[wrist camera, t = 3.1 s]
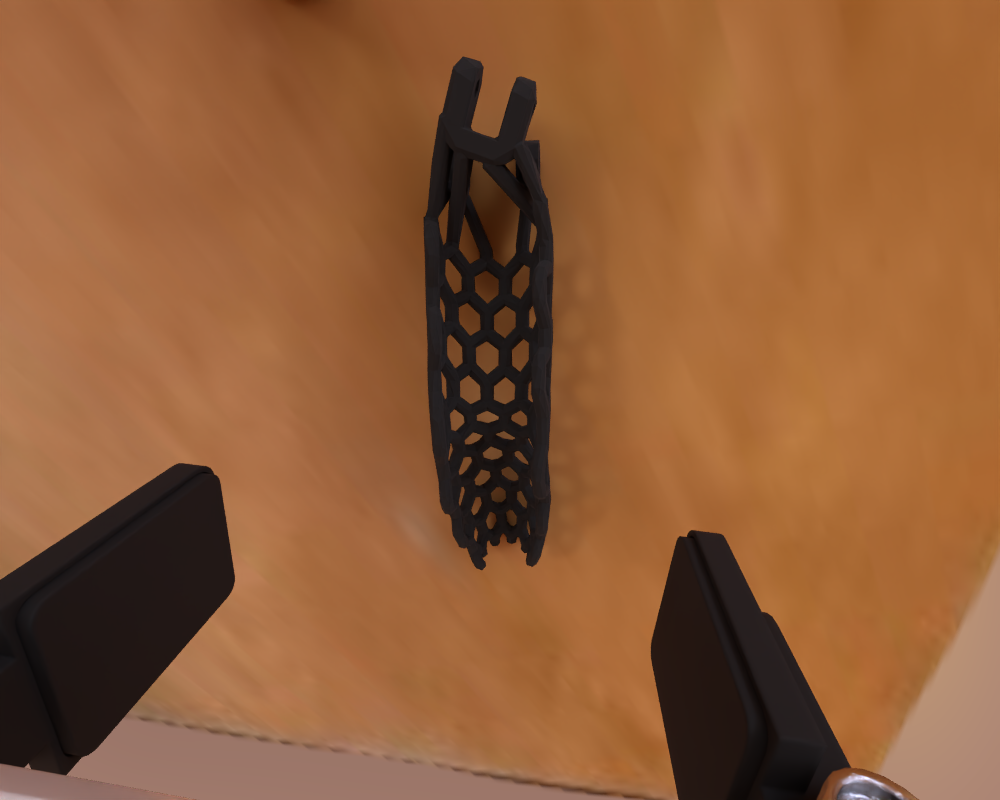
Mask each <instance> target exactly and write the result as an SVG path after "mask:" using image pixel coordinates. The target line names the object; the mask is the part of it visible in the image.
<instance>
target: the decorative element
mask: <svg viewBox="0 0 1000 800" xmlns="http://www.w3.org/2000/svg"><path fill="white" fill-rule="evenodd" d="M482 76H483V65H482V63H481V62H480V61H477V60H474V59H470V58H467V57H462V58H461V59H460V60H459V61H458V62H457V63H456V65H455V66H454V67H453V70H452V74H451V79H450V83H449V87H448V91H447V95H446V100H445V104H444V108H443V112H442V113H441V114H440V115H439V121H438V127H437V133H436V139H435V145H434V152H433V158H432V166H431V178H430V189H429V200H428V210H427V213H426V216H425V217H424V246H425V286H426V316H427V339H428V395H429V412H430V424H431V435H432V446H433V453H434V458H435V463H436V469H437V475H438V481H439V494H440V503H441V507H442V510H443V511H444V513H445V514H449V515H450V516H451V520H452V532H453V536H454V538H455V540H456V542H457V543H458V545H459V547H461V548H466V547H467V549H468V552H469V554H470V557H471V560H472V562H473V564H474V566H475V567H476V568H477V569H480V570H483V569H484V568H485V567H486V563H485V561H484V560H483V558H484V557H485V556H486V555H487V554H488V553H487V549H486V548H487V541H488V540H489V541H490V543H491V545H492V546H498V545H499V543H500V537H501V535H502V534H503V533H504V534H505V535H506V537H507V542H509V543H510V544H513V543H515V542H516V540H517V537H519V538H520V542H521V550H522V551H523V552H524V553H527V558H526V564H527V565H529V566H532V567H533V566H534V565H535V564H537V562H538V560H539V558H540V556H541V553H542V549H543V545H544V541H545V537H546V534H547V530H548V520H549V511H550V502H551V494H550V477H549V470H548V450H549V433H550V415H551V396H550V387H551V365H552V344H553V319H552V290H553V261H554V257H553V233H552V227H551V222H550V216H549V210H548V199H547V198H546V196H545V194H544V191H543V188H542V185H541V179H540V144H539V140H533V141H525V138H526V135H527V131H528V127H529V124H530V121H531V118H532V116H533V113H534V110H535V107H536V104H537V100H536V82H535V81H532V80H529V79H527V78H524V77H518V78H516V81H515V83H514V86H513V88H512V91H511V94H510V97H509V101H508V104H507V108H506V111H505V115H504V118H503V122H502V125H501V129H500V132H499V136H498V137H496V138H492V137H489V136H485V135H482V134H480V133H477V132H475V131H472V129H471V123H472V120H473V116H474V112H475V108H476V104H477V100H478V96H479V92H480V88H481V84H482ZM513 159H515V160H516V177H515V176H514V175H513V174H512V173H511V172H510V170H509V169H508V168H507V167H506V166H505V164H507V163H508V162H510V161H512V160H513ZM473 160H475V161H478V162H481V163H483V169H484V170H485V171H486V172H487V173H488V174H489V175H490V176H491V178H492V179H493V180H494V181H495V182H496V183H497V184H498V185H499V186H500V188H501V189H502V190H503V191H504V192H505V193H506V194H507V195H508V196H509V197H510V199H511V200H512V201H513V202H514V203H515V204H516V205H517V206H518V207H519V209H520V215H519V223H518V232H517V241H516V254H515V256H514V257H513V258H512V259H511V260H510V262H509V263H508V264H507V265H506V266H505V267H503V266H502V265H501V264H499V263H498V262H497V261H495V260H494V259H493V251H492V248H491V245H490V243H489V241H488V238H487V236H486V233H485V231H484V229H483V226H482V224H481V222H480V219H479V217H478V215H477V212H476V210H475V207H474V205H473V203H472V200H471V198H470V196H469V189H470V177H471V171H472V165H473ZM448 201H449V210H448V225H447V239H446V243H445V244H444V245H443V242H442V238H441V234H440V229H439V222H438V217H439V215H440V213H441V212H442V210H443V209H444V207H445V205H446V204H447V202H448ZM464 215H465V218H466V220H467V223H468V225H469V227H470V230H471V232H472V235H473V237H474V240H475V242H476V244H477V247H478V249H479V252H480V259H478V260H476V261H474V262H473V263H471V264H470V263H469V262H468V261H467V259H466V258H465V257H464V255H463V254H462V253H461V251H460V250H459V242H460V236H461V230H462V224H463V218H464ZM531 222H532V223H533V224H534V225H535V226H536V229H537V236H536V241H535V245H534V248H533V251H532V253H530V252H529V241H530V232H531ZM447 259H449V260H450V261H451V262H452V264H453V265H454V266H455V268H456V269H457V270H458V271H459V273H460V274H461V276H462V291H460V292H458V293H456V294H454V292H453V291H452V289H451V287H450V285H449V283H448V282H447V279H446V275H445V263H446V260H447ZM524 265H525V266H527V267H529V268H530V277H529V286H528V288H527V289H526V291H525V292H524V294H523V296H522V297H521V299H519V298H518V297H516V296H514V295H513V294H512V279H513V277H514V276H515V275H516V274H517V273H518V272H519V270H520V269H521V268H522V267H523V266H524ZM484 271H488V272H489V273H490V274H492V275H493V276H494V277H496V278H497V279H498V280H499V295H498V296H496V297H495V298H494V299H493V300H491V301H490V302H489V303H488V304H487V303H486V302H485V301H484V300H483V299H482V298H481V297H480V296H479V295H478V294H477V293H476V292H475V276H477V275H479V274H481V273H482V272H484ZM440 297H441V299H442V300H443V303H444V305H445V322H444V321H443V317H442V314H441V310H440ZM466 303H468V304H469V305H470V306H471V307H472V308H473V309H474V310H475V311H476V312H477V313H478V314H479V315H480V325H481V330H479V331H478V332H476V333H474V334H473V335H471V336H470V335H469V334H468V333H467V332H466V331H465V329H464V328H463V327H462V326H461V325H460V322H459V307H460V306H462V305H464V304H466ZM505 306H507V307H508V308H510V309H511V310H513V311H515V313H516V327H515V328H514V329H513V330H512V331H511V332H510V333H509V335H508V336H507V337H506V338H503V337H502V336H501V335H500V334H498V333H497V332H496V331H495V330H494V315H495V314H496V313H498V312H499V311H500V310H501V309H503V308H504V307H505ZM532 306H533V308H534V312H535V316H536V322H535V325H534V328H533V329H532V328H530V327H529V310H530V309H531V307H532ZM450 334H451V335H452V336H453V337H454V338H455V340H456V341H457V342H458V343H459V344H460V345H461V346H462V358H463V363H462V364H461V365H459V366H458V367H457V368H454V366H453V364H452V363H451V361H450V360H449V358H448V356H447V337H448V336H449V335H450ZM523 339H524V340H526V341H527V342H529V360H528V362H527V363H526V365H525V366H524V368H523V369H522V370H521V372H519V371H518V370H517V369H516V368H515V367H513V366H512V349H513V348H514V347H515V346H516V345H517V344H519V343H520V342H521V341H522V340H523ZM486 341H487V342H488V343H490V344H491V345H493V346H494V347H495V348H497V349H498V350H499V366H497V367H496V368H495V369H494V370H493V371H491V372H490V373H489V374H488V375H487V374H486V373H485V372H484V371H483V370H482V369H481V368H480V367H479V366H478V365H477V364H476V347H478V346H479V345H481V344H483V343H485V342H486ZM441 371H442V373H443V375H444V377H445V378H446V387H447V398H446V399H445V398H444V396H443V393H442V380H441ZM468 375H469V376H470V377H471V378H472V379H473V380H474V381H475V382H476V383H478V384H479V385H480V393H481V400H478V401H476V402H474V403H472V404H469V403H468V402H467V401H465V400H464V399H463V398H461V397H460V381H461V380H462V379H464V378H465V377H467V376H468ZM505 377H506V378H508V379H509V380H510V381H511V382H512V383H513V384H514V385H515V399H514V400H512V401H511V402H509V403H507V404H502V403H500V402H498V401H496V400H494V386H495V385H496V384H497V383H499V382H500V381H501V380H502V379H504V378H505ZM530 382H531V395H532V399H533V403H532V402H531V401H529V400H528V385H529V383H530ZM454 409H455V410H457V411H458V412H459V413H461V414H462V415H463V416H464V422H465V423H464V424H463V425H462V426H461V427H460V428H459V429H458V430H457V431H453V430H451V421H450V413H451V412H452V411H453V410H454ZM520 410H521V411H522V412H523V413H524V414H525V415H526V416H527V425H525V426H520V425H519V424H517V423H515V422H514V421H512V420H511V417H512V415H513V414H515V413H517V412H519V411H520ZM485 411H489V412H491V413H493V414H495V415H497V416H499V419H498V420H496V421H493V422H490V423H485V422H481V421H477V415H478V414H481V413H483V412H485ZM503 431H505V432H507V433H508V434H510V435H511V436H513V437H515V439H513V440H509V439H504V438H502V437H500V436H498V435H496V434H497V433H500V432H503ZM473 432H474V433H477V434H480V435H483V436H482V437H481V438H480V440H479V441H477V442H475V443H473V444H466V445H465V440H466V439H467V438H468V437H469V436H470V435H471V434H472V433H473ZM528 438H529V439H530V441H531V444H532V445H531V444H530V442H529V440H528ZM450 443H451V444H452V448H453V451H452V454H451V457H450V460H448V457H449V450H450ZM491 446H492V447H494V448H496V449H499V450H501V451H502V454H503V456H501V457H500V458H498V459H494V460H490V459H487V458H484V457H483V452H484V451H486V450H487V449H488V448H489V447H491ZM532 446H533V447H532ZM516 451H520V452H521V453H522V454H523V456H524V457H525V458H526V460H527V461H528V464H529V465H527V464H525V463H522V462H521V461H520V460H519V459H518V458H517V457H516V456H515V452H516ZM465 457H471V459H472V462H471V464H470V466H469V467H468V469H467V470H466V471H465V472H464V473H463V474H461V475H459V469H460V467H461V464H462V461H463V458H465ZM506 467H510V468H511V469H512V470H514V471H515V472H516V473H517V475H518V480H516V481H511V480H508V479H507V478H506V477H505V476H503V475H502V471H501V470H502V469H504V468H506ZM481 469H482V470H486V471H489V472H490V476H491V477H490V478H489V479H488V480H487V481H486V482H485V483H484V484H482V485H480V486H479V485H476V484H475V481H474V479H475V478H476V476H477V475H478V474H479V472H480V471H481ZM530 479H531V482H532V486H531V484H530ZM461 487H464V489H465V492H464V495H463V499H462V502H461V506H459V498H460V492H461ZM496 487H501V488H503V489H504V490H505V491H506V499H505V500H504V501H502V502H499V503H497V502H495V501H493V500H492V498H491V492H492V491H493V490H494V489H495V488H496ZM518 491H522V493H523V495H524V497H525V499H526V501H527V509H526V508H525V507H523V506H522V505H521V503H520V502H519V501H518V500H517V492H518ZM476 497H480V498H481V502H482V504H481V506H480V508H479V511H478V513H477V514H475V515H473V514H472V511H471V509H472V506H473V503H474V500H475V498H476ZM509 510H513V512H514V513H515V515H516V516H517V524H516V525H515V526H511V525H510V524H509V523H508V521H507V514H506V512H507V511H509ZM489 512H493V513H495V514H496V519H497V522H496V523H495V525H494V527H493V529H491V530H490V529H488V527H487V523H486V519H487V517H488V515H489ZM527 520H528V522H529V527H530V535H529V533H528V530H527ZM475 528H477V531H478V536H477V542H476V540H475V539H474V530H475ZM482 557H483V558H482Z"/></svg>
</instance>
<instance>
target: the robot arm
mask: <svg viewBox="0 0 1000 800" xmlns="http://www.w3.org/2000/svg"><path fill="white" fill-rule="evenodd" d="M234 582H235V575H234V568H233V562H232V555H231V549H230V542H229V536H228V529H227V523H226V516H225V510H224V504H223V497H222V491H221V484H220V480H219V478H218V476H216V475H214V473H213V471H212V470H211V468H209V467H207V466H200V465H192V464H184V463H178V464H176V465H174V466H172V467H171V468H169V469H168V470H166V471H165V472H163V473H162V474H160V475H159V476H157V477H156V478H154V479H153V480H151V481H150V482H148V483H147V484H145V485H143V486H142V487H140V488H139V489H137V490H136V491H134V492H133V493H131V494H130V495H128V496H127V497H125V498H124V499H122V500H121V501H119V502H118V503H116V504H115V505H113V506H112V507H110V508H109V509H107V510H106V511H104V512H103V513H101V514H99V515H98V516H96V517H95V518H93V519H92V520H90V521H89V522H87V523H86V524H84V525H83V526H81V527H80V528H78V529H77V530H75V531H74V532H72V533H71V534H69V535H68V536H66V537H65V538H63V539H62V540H60V541H59V542H57V543H55V544H54V545H52V546H51V547H49V548H48V549H46V550H45V551H43V552H42V553H40V554H39V555H37V556H36V557H34V558H33V559H31V560H30V561H28V562H27V563H25V564H24V565H22V566H21V567H19V568H18V569H16V570H15V571H13V572H11V573H10V574H8V575H7V576H5V577H4V578H2V579H1V580H0V800H194V799H189V798H184V797H179V796H173V795H168V794H163V793H158V792H152V791H147V790H141V789H136V788H131V787H125V786H120V785H114V784H109V783H103V782H97V781H92V780H87V779H81V778H77V777H71V776H66V775H67V774H68V772H69V771H70V770H71V769H72V768H73V767H74V766H75V764H76V763H77V762H78V761H79V760H80V759H81V758H82V757H84V756H87V755H89V754H90V753H92V752H93V751H95V750H96V749H97V748H98V747H99V745H100V744H101V743H102V742H103V741H104V740H105V739H106V737H107V736H108V735H109V734H110V733H111V731H112V730H113V729H114V728H115V727H116V726H117V725H118V724H119V722H120V721H121V720H122V719H123V718H124V717H125V715H126V714H127V713H128V712H129V711H130V710H131V708H132V707H133V706H134V705H135V704H136V703H137V702H138V700H139V699H140V698H141V697H142V696H143V695H144V693H145V692H146V691H147V690H148V689H149V688H150V686H151V685H152V684H153V683H154V682H155V681H156V680H157V678H158V677H159V676H160V675H161V674H162V673H163V671H164V670H165V669H166V668H167V667H168V666H169V665H170V663H171V662H172V661H173V660H174V659H175V658H176V656H177V655H178V654H179V653H180V652H181V651H182V649H183V648H184V647H185V646H186V645H187V644H188V643H189V641H190V640H191V639H192V638H193V637H194V636H195V634H196V633H197V632H198V631H199V630H200V629H201V627H202V626H203V625H204V624H205V623H206V622H207V621H208V619H209V618H210V617H211V616H212V615H213V614H214V612H215V611H216V610H217V609H218V608H219V607H220V605H221V604H222V603H223V602H224V601H225V600H226V599H227V597H228V596H229V595H230V593H231V591H232V589H233V586H234ZM651 660H652V666H653V671H654V676H655V681H656V686H657V692H658V697H659V702H660V707H661V712H662V717H663V722H664V727H665V733H666V738H667V743H668V748H669V753H670V758H671V763H672V768H673V773H674V779H675V784H676V789H677V794H678V799H679V800H919V799H917V798H916V797H915V796H913V795H912V794H911V793H910V792H908V791H907V790H906V789H905V788H903V787H901V786H900V785H898V784H896V783H894V782H893V781H891V780H889V779H887V778H886V777H884V776H881V775H879V774H876V773H873V772H870V771H867V770H865V769H857V768H851V767H850V765H849V763H848V761H847V759H846V757H845V755H844V753H843V751H842V749H841V747H840V745H839V743H838V741H837V739H836V737H835V736H834V734H833V732H832V730H831V728H830V726H829V724H828V722H827V720H826V718H825V716H824V714H823V712H822V710H821V708H820V706H819V704H818V703H817V701H816V699H815V697H814V695H813V693H812V691H811V689H810V687H809V685H808V683H807V681H806V679H805V677H804V675H803V673H802V671H801V670H800V668H799V666H798V664H797V662H796V660H795V658H794V656H793V654H792V652H791V650H790V648H789V646H788V644H787V642H786V640H785V638H784V636H783V635H782V633H781V631H780V629H779V627H778V625H777V623H776V622H775V620H774V619H773V617H772V616H771V615H769V614H768V613H765V612H761V610H760V608H759V606H758V604H757V602H756V600H755V598H754V596H753V594H752V592H751V590H750V588H749V586H748V584H747V582H746V579H745V577H744V575H743V573H742V571H741V569H740V567H739V565H738V563H737V561H736V559H735V557H734V555H733V553H732V551H731V549H730V547H729V545H728V543H727V541H726V539H725V537H724V536H723V535H722V534H717V533H710V532H702V531H694V530H691V531H689V533H688V535H687V537H681V536H680V537H679V538H678V539H677V542H676V545H675V549H674V553H673V557H672V561H671V565H670V569H669V573H668V577H667V581H666V585H665V589H664V593H663V597H662V601H661V605H660V609H659V613H658V617H657V621H656V625H655V629H654V633H653V637H652V642H651ZM28 763H29V765H30V767H31V769H28V768H24V767H25V766H26V765H27V764H28Z"/></svg>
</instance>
